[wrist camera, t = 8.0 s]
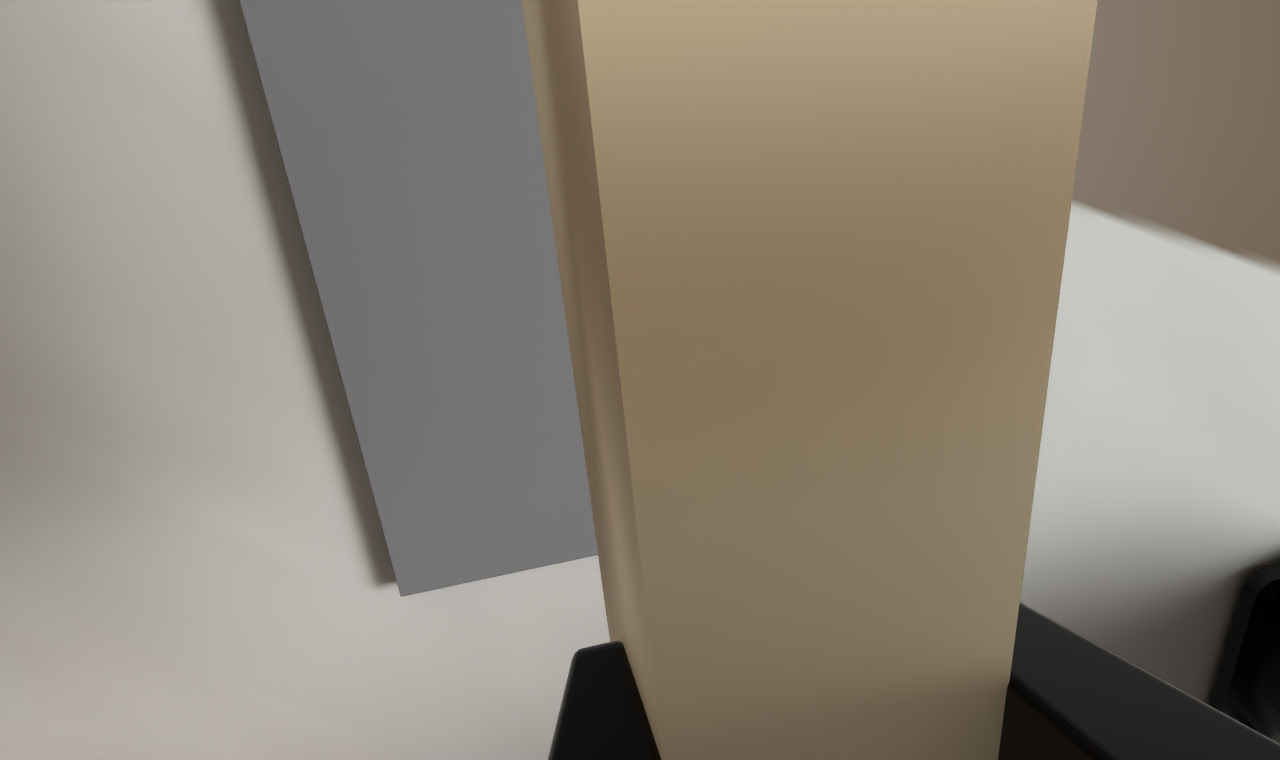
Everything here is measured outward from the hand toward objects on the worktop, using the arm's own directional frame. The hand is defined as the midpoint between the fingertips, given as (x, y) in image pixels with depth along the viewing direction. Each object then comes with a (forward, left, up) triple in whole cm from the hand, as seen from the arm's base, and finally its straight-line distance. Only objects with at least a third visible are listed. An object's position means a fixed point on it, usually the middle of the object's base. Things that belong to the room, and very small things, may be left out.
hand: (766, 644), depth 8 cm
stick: (+4, 0, -1) cm, 4 cm away
